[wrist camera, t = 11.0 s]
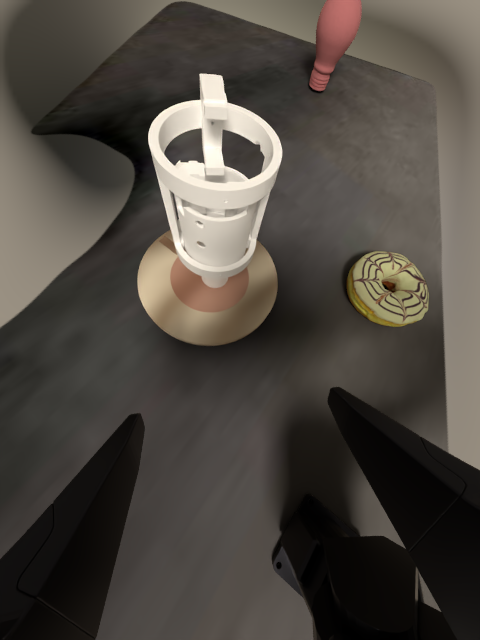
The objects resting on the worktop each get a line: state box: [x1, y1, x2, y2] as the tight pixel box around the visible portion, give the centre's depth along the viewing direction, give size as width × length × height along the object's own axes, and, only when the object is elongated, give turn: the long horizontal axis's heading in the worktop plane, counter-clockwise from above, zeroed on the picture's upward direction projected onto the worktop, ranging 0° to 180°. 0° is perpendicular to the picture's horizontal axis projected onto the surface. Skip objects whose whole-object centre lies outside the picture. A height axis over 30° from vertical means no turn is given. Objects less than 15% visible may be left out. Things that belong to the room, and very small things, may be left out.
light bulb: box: [309, 0, 362, 91], centre depth 39 cm, size 7×7×12 cm
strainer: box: [148, 74, 282, 288], centre depth 17 cm, size 7×7×15 cm
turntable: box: [137, 230, 278, 346], centre depth 25 cm, size 16×16×1 cm
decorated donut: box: [347, 251, 429, 327], centre depth 28 cm, size 10×11×4 cm
